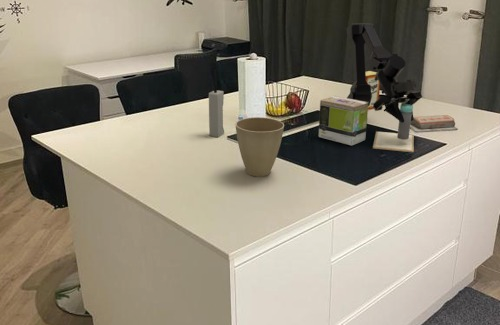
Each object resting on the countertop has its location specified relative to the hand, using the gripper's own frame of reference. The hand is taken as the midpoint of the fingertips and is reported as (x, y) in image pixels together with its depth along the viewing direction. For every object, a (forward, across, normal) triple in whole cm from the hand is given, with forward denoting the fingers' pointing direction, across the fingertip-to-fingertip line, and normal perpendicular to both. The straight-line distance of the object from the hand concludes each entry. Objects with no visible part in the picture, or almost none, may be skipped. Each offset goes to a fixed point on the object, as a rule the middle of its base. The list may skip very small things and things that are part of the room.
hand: (407, 121), depth 187 cm
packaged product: (-1, +26, +16) cm, 30 cm away
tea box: (-6, -15, +19) cm, 25 cm away
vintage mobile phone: (-24, -54, +37) cm, 70 cm away
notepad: (+3, 0, +11) cm, 11 cm away
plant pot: (+4, -59, +9) cm, 60 cm away
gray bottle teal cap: (+4, 0, +6) cm, 7 cm away
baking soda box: (-26, +22, +40) cm, 53 cm away
